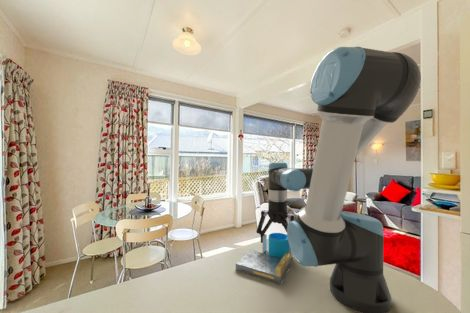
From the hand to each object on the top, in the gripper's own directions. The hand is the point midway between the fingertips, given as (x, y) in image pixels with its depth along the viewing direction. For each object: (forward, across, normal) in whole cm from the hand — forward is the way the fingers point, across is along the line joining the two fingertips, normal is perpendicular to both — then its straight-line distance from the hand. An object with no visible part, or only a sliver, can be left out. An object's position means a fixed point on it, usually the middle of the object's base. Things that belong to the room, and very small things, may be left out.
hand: (277, 253), depth 84 cm
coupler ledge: (0, +1, +13) cm, 13 cm away
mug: (0, 0, 0) cm, 0 cm away
